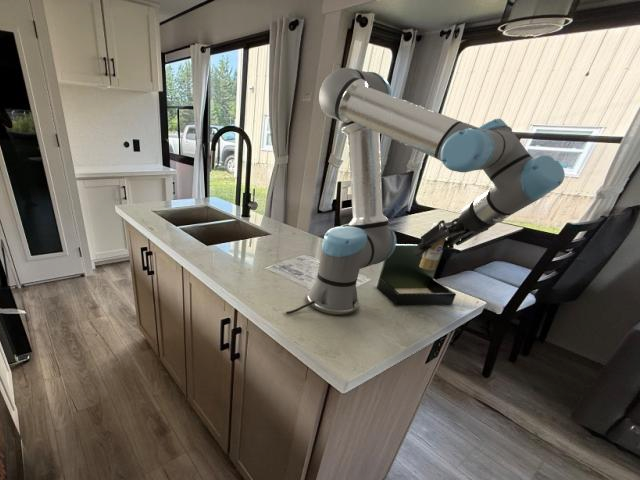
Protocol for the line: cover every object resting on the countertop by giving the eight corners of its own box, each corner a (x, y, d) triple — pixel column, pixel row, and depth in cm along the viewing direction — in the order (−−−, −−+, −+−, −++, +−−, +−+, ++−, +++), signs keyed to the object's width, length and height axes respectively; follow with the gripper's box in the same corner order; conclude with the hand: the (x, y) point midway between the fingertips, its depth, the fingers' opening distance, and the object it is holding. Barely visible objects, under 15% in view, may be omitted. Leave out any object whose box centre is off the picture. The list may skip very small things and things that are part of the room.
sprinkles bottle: (428, 271, 96) (444, 227, 90) (415, 266, 100) (429, 222, 94) (438, 269, 98) (454, 225, 92) (425, 264, 102) (439, 221, 95)
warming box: (395, 305, 103) (410, 258, 96) (376, 287, 114) (388, 244, 107) (451, 304, 106) (470, 258, 98) (428, 287, 117) (443, 244, 109)
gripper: (456, 225, 76) (399, 263, 99) (522, 225, 79) (451, 263, 101) (449, 197, 78) (394, 240, 101) (513, 198, 81) (445, 241, 103)
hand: (423, 252), depth 101 cm, fingers closed on sprinkles bottle, 4 cm apart
